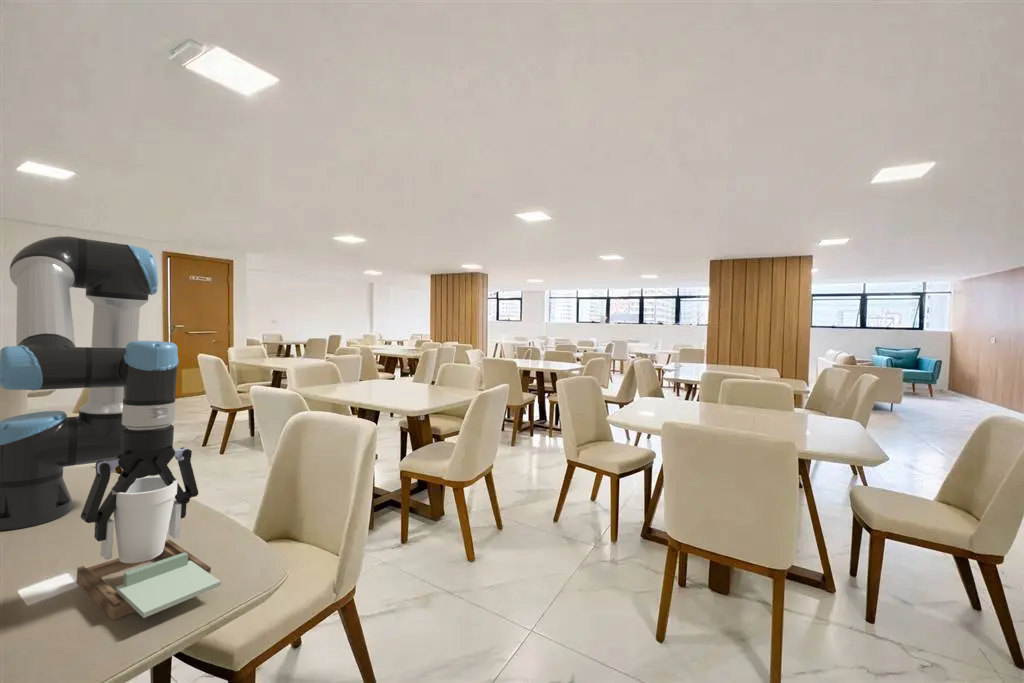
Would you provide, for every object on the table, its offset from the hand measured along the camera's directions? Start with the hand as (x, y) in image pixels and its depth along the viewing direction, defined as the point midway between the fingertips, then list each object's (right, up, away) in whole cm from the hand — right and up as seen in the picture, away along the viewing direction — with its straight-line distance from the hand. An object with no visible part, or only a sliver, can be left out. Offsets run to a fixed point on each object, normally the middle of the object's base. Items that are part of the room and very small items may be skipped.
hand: (141, 545), depth 82 cm
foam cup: (0, -2, 0) cm, 2 cm away
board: (+1, -6, -1) cm, 6 cm away
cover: (+10, -5, -6) cm, 12 cm away
